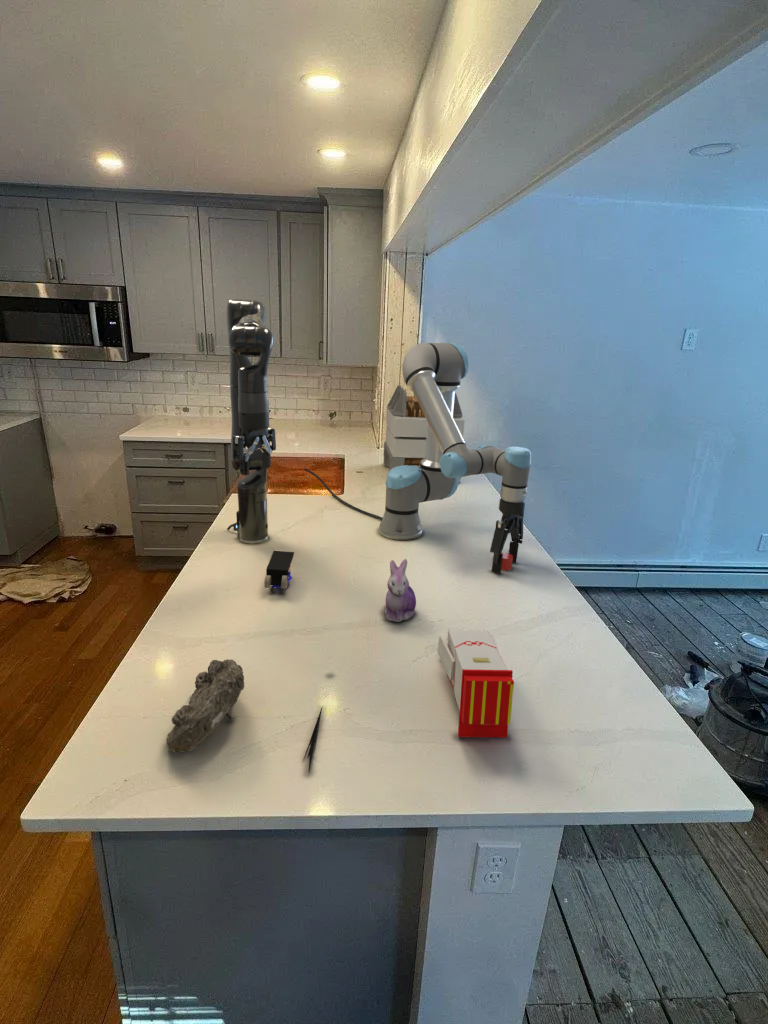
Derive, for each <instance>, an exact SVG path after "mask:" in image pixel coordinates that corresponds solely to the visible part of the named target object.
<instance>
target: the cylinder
mask: <svg viewBox="0 0 768 1024" xmlns="http://www.w3.org/2000/svg"><path fill="white" fill-rule="evenodd" d="M502 553H503V558H502V566H501V571H506V572H507V571H510V570H512V567H513V562H512V561H513V555H511V554H509V552H502Z"/></svg>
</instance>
